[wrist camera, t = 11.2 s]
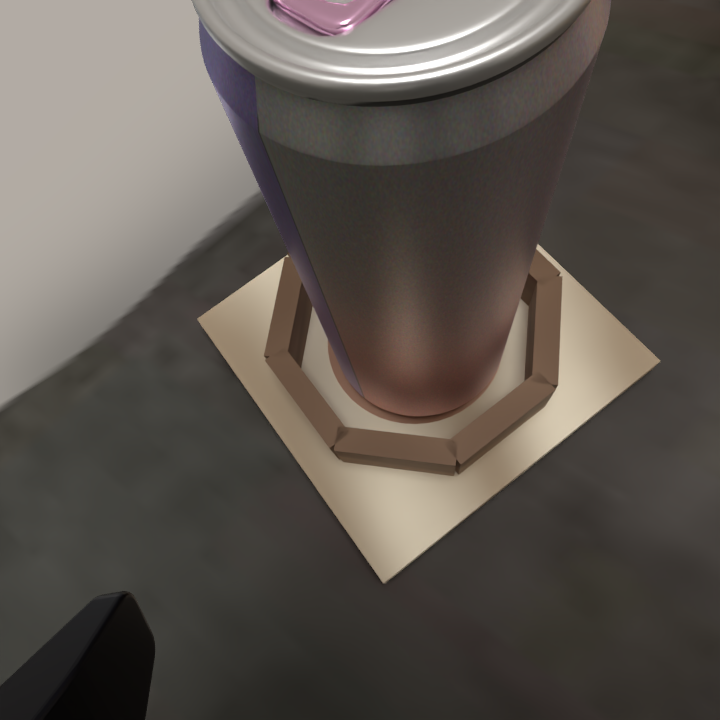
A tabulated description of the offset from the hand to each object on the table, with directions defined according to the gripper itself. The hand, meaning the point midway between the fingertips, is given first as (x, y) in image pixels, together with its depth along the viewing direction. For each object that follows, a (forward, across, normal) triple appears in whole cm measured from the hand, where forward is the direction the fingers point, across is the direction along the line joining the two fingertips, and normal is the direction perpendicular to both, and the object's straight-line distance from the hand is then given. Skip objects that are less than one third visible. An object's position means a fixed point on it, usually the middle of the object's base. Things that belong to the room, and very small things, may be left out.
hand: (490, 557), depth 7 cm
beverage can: (+14, 0, +3) cm, 15 cm away
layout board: (+15, 0, +4) cm, 16 cm away
